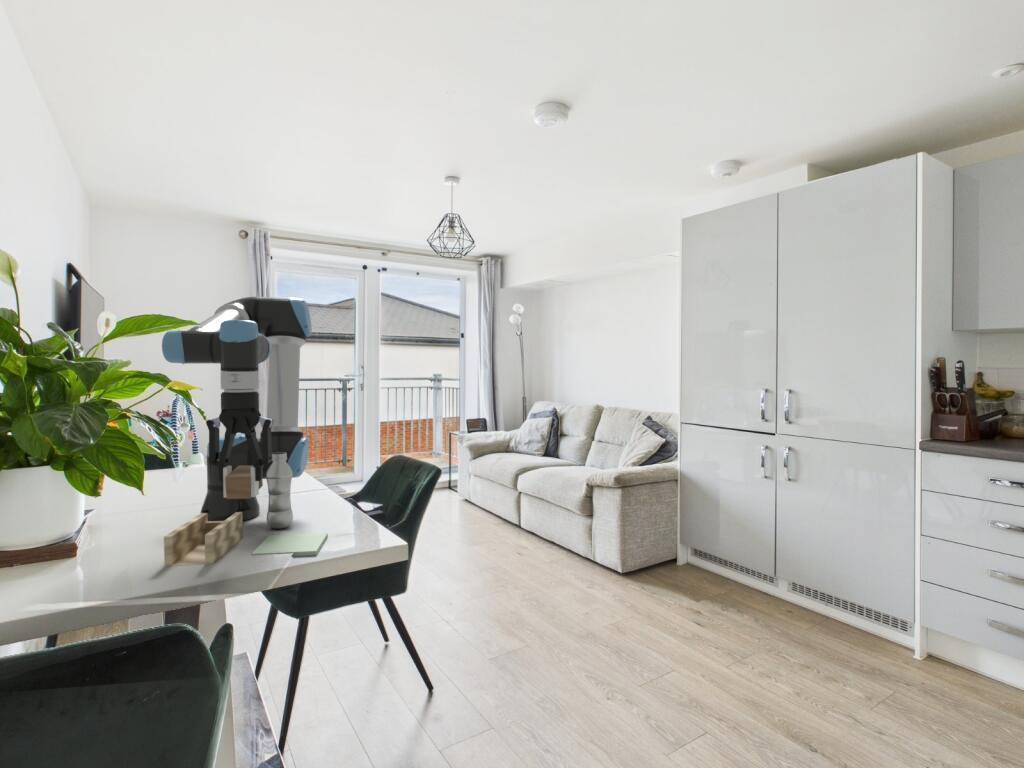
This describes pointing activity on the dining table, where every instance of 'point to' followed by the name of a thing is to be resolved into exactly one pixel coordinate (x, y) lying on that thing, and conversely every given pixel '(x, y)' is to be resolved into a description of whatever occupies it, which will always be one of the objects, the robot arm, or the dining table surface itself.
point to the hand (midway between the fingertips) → (241, 495)
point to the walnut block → (240, 483)
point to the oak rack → (202, 540)
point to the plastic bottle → (279, 492)
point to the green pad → (292, 544)
